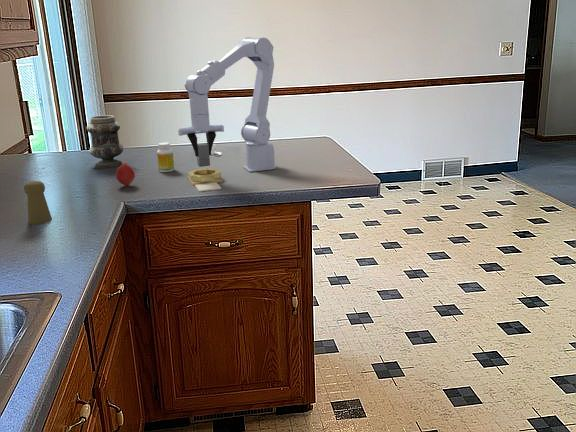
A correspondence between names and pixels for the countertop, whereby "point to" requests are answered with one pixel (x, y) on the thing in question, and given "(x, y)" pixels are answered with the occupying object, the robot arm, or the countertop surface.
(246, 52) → the robot arm
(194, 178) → the collar
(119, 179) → the pomegranate
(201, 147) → the steel block
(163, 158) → the supplement bottle
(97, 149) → the carved stone vase
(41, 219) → the yellow tapered knobbed piece
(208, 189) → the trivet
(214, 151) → the teacup and saucer
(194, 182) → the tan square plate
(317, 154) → the countertop surface
